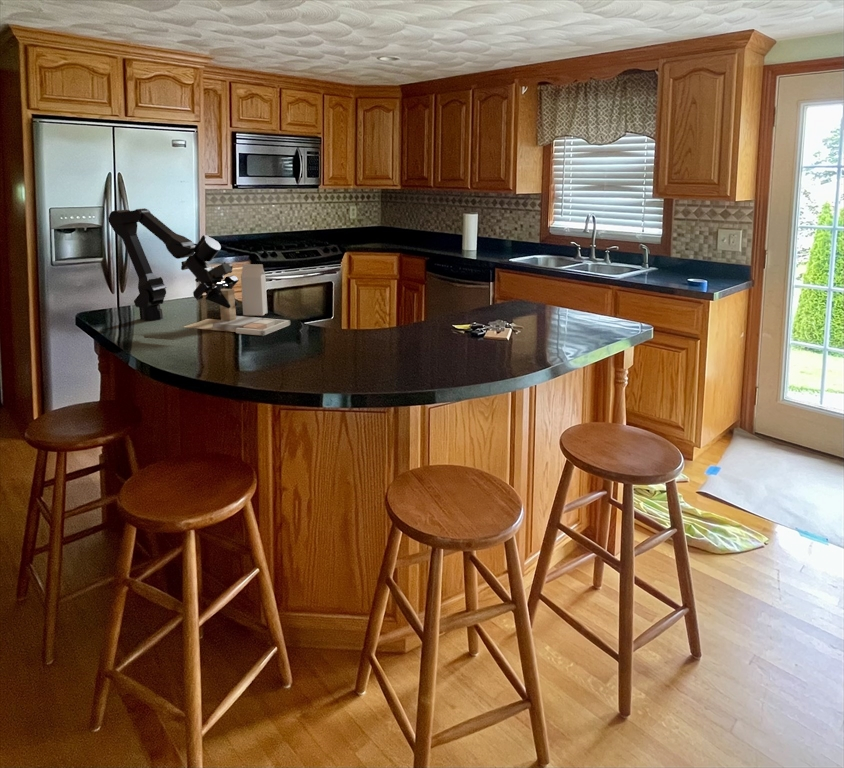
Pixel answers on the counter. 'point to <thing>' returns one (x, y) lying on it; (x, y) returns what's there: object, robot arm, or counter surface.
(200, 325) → the board
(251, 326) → the tile
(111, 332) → the counter surface
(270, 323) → the tile
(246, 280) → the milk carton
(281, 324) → the tray
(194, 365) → the counter surface
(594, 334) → the counter surface
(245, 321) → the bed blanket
